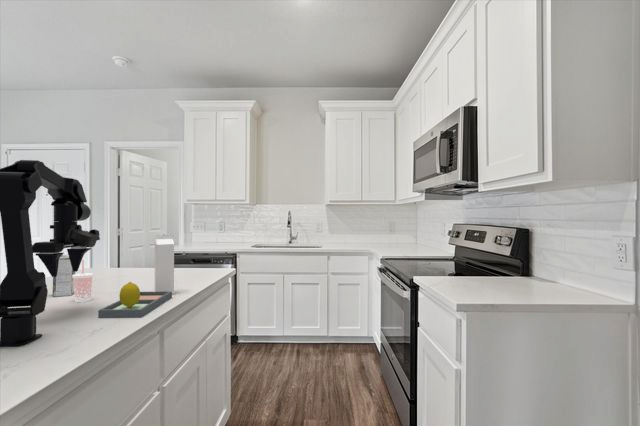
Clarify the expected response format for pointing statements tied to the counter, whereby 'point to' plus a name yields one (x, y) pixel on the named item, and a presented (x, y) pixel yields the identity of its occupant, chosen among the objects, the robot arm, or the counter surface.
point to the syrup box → (63, 278)
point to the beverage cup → (82, 285)
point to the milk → (164, 263)
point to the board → (136, 306)
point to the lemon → (129, 294)
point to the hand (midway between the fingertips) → (65, 274)
